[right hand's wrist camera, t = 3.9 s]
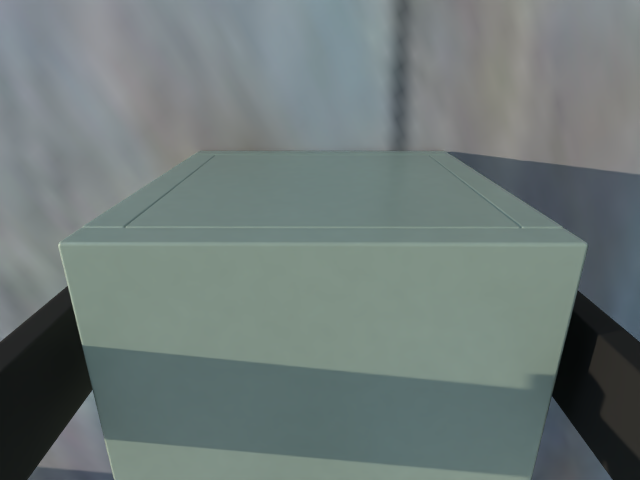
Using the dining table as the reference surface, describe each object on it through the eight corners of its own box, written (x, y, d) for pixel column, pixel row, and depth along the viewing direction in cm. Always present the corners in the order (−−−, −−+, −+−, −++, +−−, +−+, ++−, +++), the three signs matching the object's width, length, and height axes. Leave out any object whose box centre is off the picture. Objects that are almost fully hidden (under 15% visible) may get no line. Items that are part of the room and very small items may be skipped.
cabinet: (409, 495, 27) (463, 758, 17) (233, 494, 27) (179, 757, 17) (445, 150, 19) (591, 243, 9) (198, 150, 19) (55, 242, 9)
